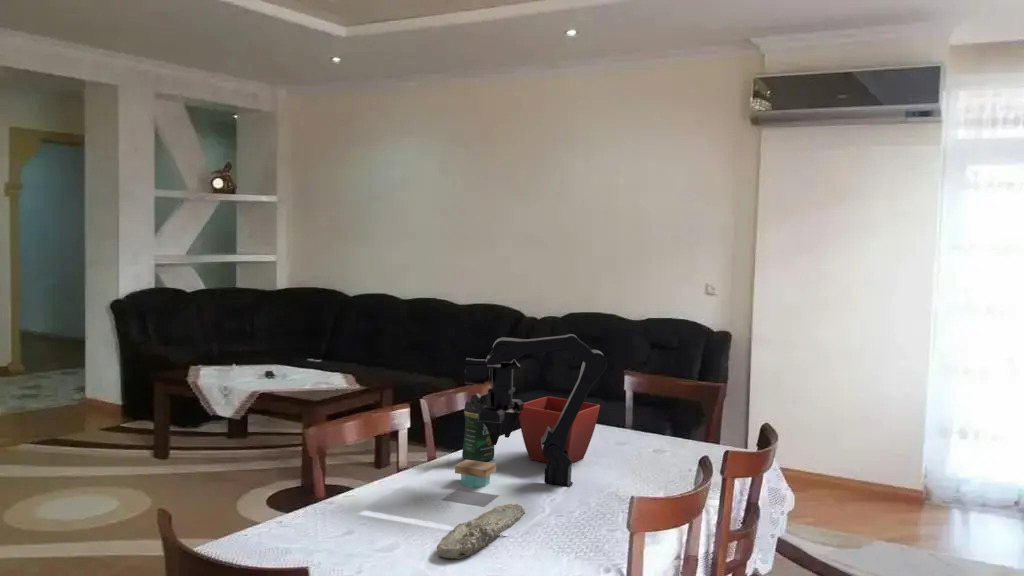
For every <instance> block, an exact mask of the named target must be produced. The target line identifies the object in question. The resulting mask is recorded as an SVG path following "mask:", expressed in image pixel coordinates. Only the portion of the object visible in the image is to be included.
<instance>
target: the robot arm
mask: <svg viewBox="0 0 1024 576" xmlns="http://www.w3.org/2000/svg"><path fill="white" fill-rule="evenodd" d="M560 351H570V352H572V353H573V354H574V355H575V356H577V358H578V359H580V360H581V361H582V364H581V366H580V372H579V376H578V378H577V381H576V382H575V385H574V387H573V390H572V391H571V393H570V395H569V397H568V401H567V403H566V405H565V407H564V409H563V411H562V413H561V415H560V417H559V419H558V421H557V423H556V424H555V425H554V426H553V427H552V429H551V428H550V427H549V426H547V428H546V431H545V434H544V435H543V437H541V442H542V445H541V446H542V452H543V455H544V457H545V458H546V459H548V460H549V462H548V463H547V462H546V466H545V468H544V476H543V477H544V478H543V482H544V483H545V484H544V485H550V486H556V487H563V488H570V487H571V486H572V485H574V482H573V481H572V466H573V465H572V464H573V463H571V459H570V456H569V452H568V451H567V450H566V449H565V446H566V442H567V438H568V433H569V430H570V428H571V426H572V424H573V422H574V420H575V418H576V416H577V414H578V412H579V410H580V408H581V406H582V404H583V402H585V401H586V398H587V397H588V394H589V392H590V390H591V389H592V387H593V386H594V384H596V383H597V381H598V380H599V379H600V378H601V376H602V375H603V373H604V372H605V371H606V369H607V367H608V360H607V358H606V357H605V355H604V354H603V352H602V351H600V350H598V349H592V348H591V347H589V346H588V344H587V343H586V344H585V343H584V342H583V341H581V340H580V339H579V338H578V337H577V335H575V334H573V333H572V334H571V333H569V334H568V333H567V334H565V335H556V336H547V337H539V338H537V337H536V338H529V339H525V338H524V339H522V338H514V337H505V336H504V337H500V338H497V339H496V340H495V341H494V342H493V345H492V350H491V352H490V353H489V354H488V355H487V357H486V358H484V359H479V358H478V359H475V358H472V357H471V358H469V357H467V358H466V359H465V368H464V369H465V370H464V384H467V385H468V384H470V385H471V384H472V385H473V384H474V385H476V384H477V385H485V384H486V382H488V381H490V372H491V387H490V388H488V390H487V392H486V393H483V394H480V393H479V392H477V393H474V394H473V393H472V394H471V396H470V398H469V400H470V405H472V406H473V408H474V409H478V408H479V407H483V406H486V405H487V408H484V409H482V410H481V411H480V412H479V413H478V420H480V421H481V423H484V424H485V425H486V426H487V429H488V432H489V435H490V439H491V443H492V445H494V446H496V445H497V443H498V441H499V439H500V435H501V432H502V430H503V433H504V434H503V435H504V438H506V439H508V438H509V437H510V435H511V433H512V431H513V429H514V427H515V425H516V423H517V422H518V419H519V416H520V414H521V411H522V410H523V405H524V403H525V402H523V401H522V399H518V398H517V399H515V398H513V393H514V392H516V387H513V386H514V382H513V381H514V370H520V369H521V364H520V363H518V362H517V361H516V359H518V358H520V357H522V356H526V355H532V354H541V353H549V352H550V353H551V352H560ZM499 362H500V364H498V363H499ZM490 370H491V371H490Z"/></svg>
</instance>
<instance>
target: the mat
mask: <svg viewBox="0 0 1024 576" xmlns="http://www.w3.org/2000/svg"><path fill="white" fill-rule="evenodd" d="M499 497H500V495H498V494H493V493H488V492H487V493H485V492H479V491H474V490H466V489H461V488H460V489H459V488H457V489H455V490H453V491H452V492H451V493H449V494H447V495H446V496H445V497H443V498H441V499H440V501H445V502H451V503H452V502H453V503H458V504H463V505H470V506H476V507H482V508H485V507H486V506H487V505H489V504H490V503H492V502H493V501H494V500H496V499H498V498H499Z"/></svg>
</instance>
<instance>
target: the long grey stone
mask: <svg viewBox="0 0 1024 576" xmlns="http://www.w3.org/2000/svg"><path fill="white" fill-rule="evenodd" d="M525 514H526V511H525V508H523V506H522V505H520V504H518V503H515V504H513V503H509V504H504V505H498V506H497V505H496V506H495V507H494V508H492V509H491V510H488V511H485V512H484V513H482V514H480V515H479V516H478V517H476V518H474V519H472V520H468V521H466V522H462V523H461V522H460V523H459V524H457V526H454V528H453V529H452V530H449V532H448V533H447V534H446V535H445V536H443V537H442V538H441V540H440V541H439V543H438V544H437V545H436V550H437V551H436V552H437V555H438V556H439V557H440V558H445V559H456V560H459V559H463V558H465V557H469V556H471V555H474V554H475V553H478V552H479V551H480V550H486V549H487V548H486V547H488V546H489V544H490V543H492V542H493V541H495V540H496V539H497V538H498V537H499V536H500V535H501V533H504V532H505V531H507V529H510V528H511V527H513V526H514V525H515V524H516V523H517V522H518V521H520V520H521V519H522V517H523V516H524V515H525Z"/></svg>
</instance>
